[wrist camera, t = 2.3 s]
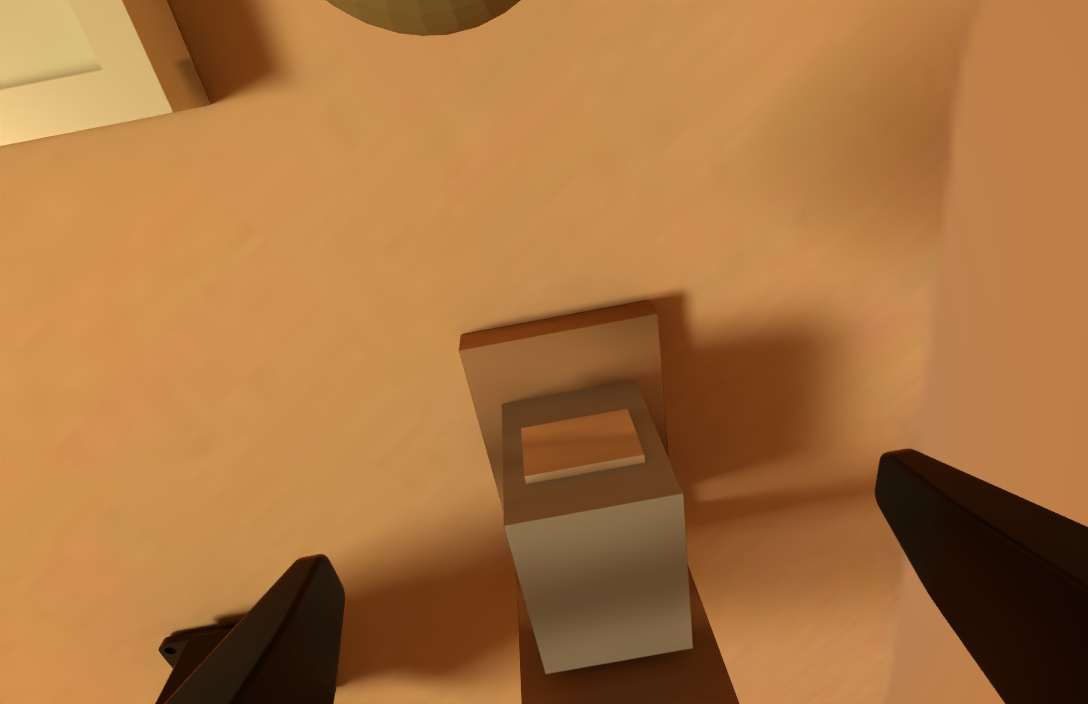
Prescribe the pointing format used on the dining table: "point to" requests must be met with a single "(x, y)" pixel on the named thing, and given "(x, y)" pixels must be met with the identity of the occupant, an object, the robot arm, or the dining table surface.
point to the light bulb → (425, 14)
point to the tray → (90, 66)
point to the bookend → (593, 511)
